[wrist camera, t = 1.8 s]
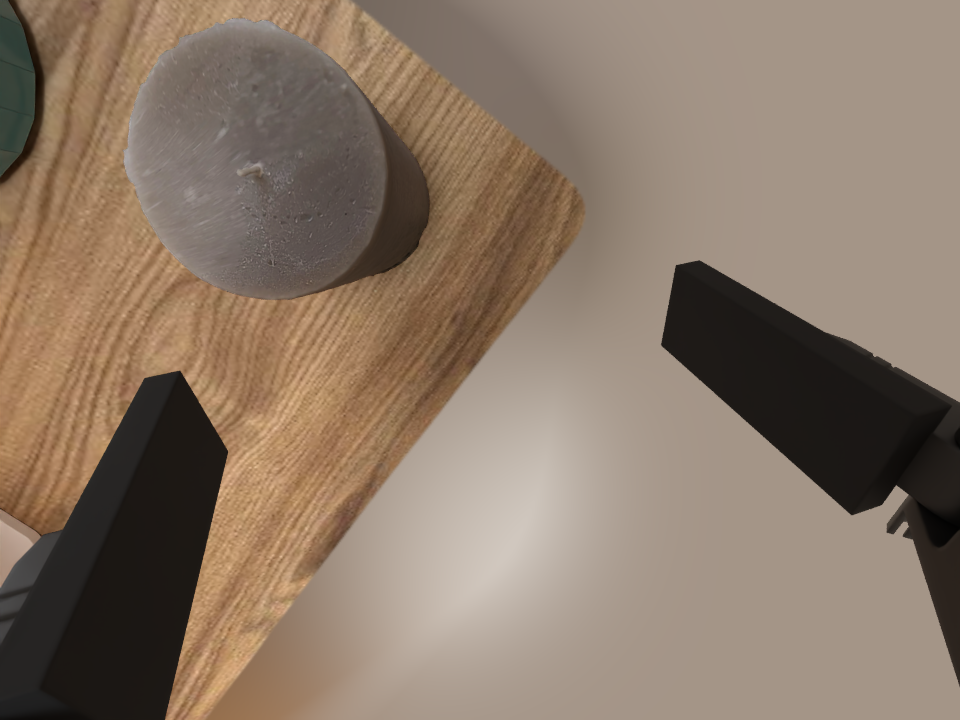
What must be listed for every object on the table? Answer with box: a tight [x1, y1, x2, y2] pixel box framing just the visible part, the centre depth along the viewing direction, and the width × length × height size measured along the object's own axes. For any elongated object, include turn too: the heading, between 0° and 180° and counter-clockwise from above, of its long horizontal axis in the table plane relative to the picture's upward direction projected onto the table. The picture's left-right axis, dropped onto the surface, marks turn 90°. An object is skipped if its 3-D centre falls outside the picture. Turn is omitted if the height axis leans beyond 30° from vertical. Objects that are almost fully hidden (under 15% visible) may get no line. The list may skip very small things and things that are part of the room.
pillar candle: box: [123, 18, 429, 300], centre depth 23 cm, size 10×10×15 cm
